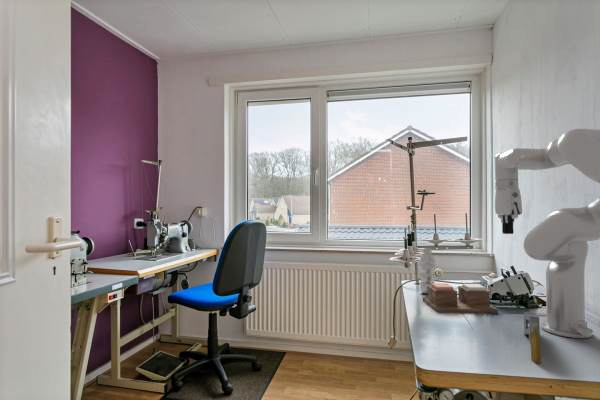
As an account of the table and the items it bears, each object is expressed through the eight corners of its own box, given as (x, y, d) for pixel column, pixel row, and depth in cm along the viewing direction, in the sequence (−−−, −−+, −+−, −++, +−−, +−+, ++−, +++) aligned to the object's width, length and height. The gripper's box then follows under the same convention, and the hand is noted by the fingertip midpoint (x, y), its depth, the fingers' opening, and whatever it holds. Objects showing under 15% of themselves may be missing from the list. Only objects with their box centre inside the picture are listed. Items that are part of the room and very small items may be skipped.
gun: (537, 365, 102) (535, 313, 107) (545, 364, 82) (542, 301, 88) (524, 363, 104) (523, 312, 109) (529, 361, 84) (527, 299, 89)
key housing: (497, 313, 125) (497, 293, 125) (436, 312, 126) (436, 293, 126) (476, 301, 141) (476, 284, 141) (422, 300, 142) (422, 283, 142)
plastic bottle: (416, 292, 155) (416, 248, 155) (427, 291, 158) (427, 247, 158) (427, 296, 149) (427, 250, 149) (438, 294, 152) (438, 249, 152)
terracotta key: (453, 300, 130) (453, 287, 130) (437, 300, 131) (437, 286, 131) (447, 296, 136) (446, 283, 136) (431, 296, 137) (431, 283, 137)
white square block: (485, 300, 130) (485, 287, 130) (469, 300, 130) (469, 287, 130) (477, 296, 136) (477, 283, 136) (462, 296, 136) (462, 283, 136)
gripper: (529, 183, 122) (531, 235, 122) (505, 186, 137) (506, 232, 137) (508, 183, 122) (509, 235, 122) (486, 186, 137) (487, 232, 137)
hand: (507, 233), depth 129 cm, fingers closed
